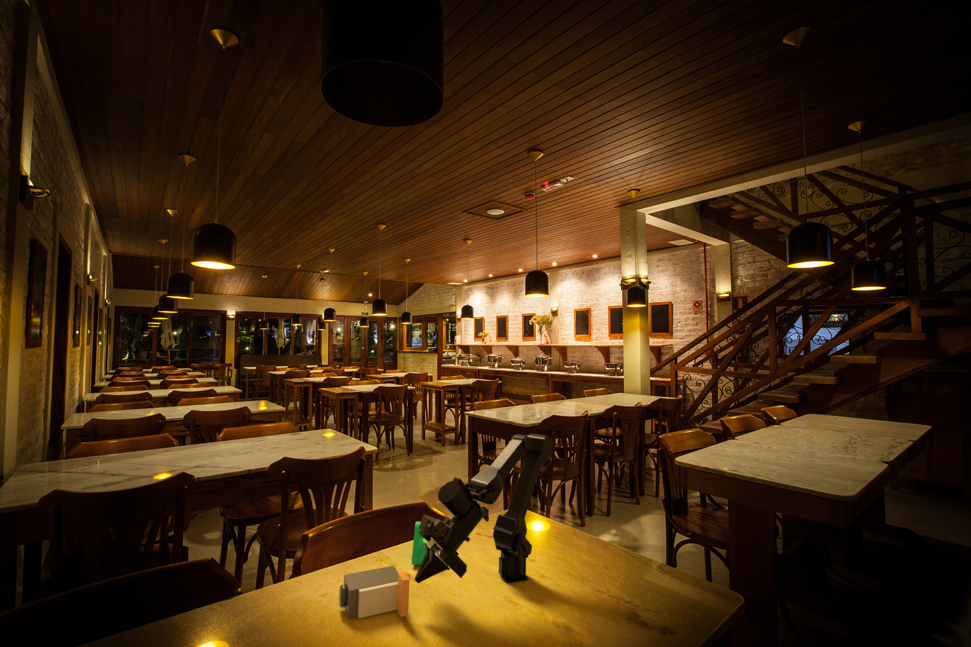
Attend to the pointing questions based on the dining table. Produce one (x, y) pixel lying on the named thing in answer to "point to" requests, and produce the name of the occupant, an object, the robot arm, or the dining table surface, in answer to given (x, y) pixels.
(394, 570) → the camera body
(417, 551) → the camera mount
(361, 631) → the dining table surface
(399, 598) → the side door
